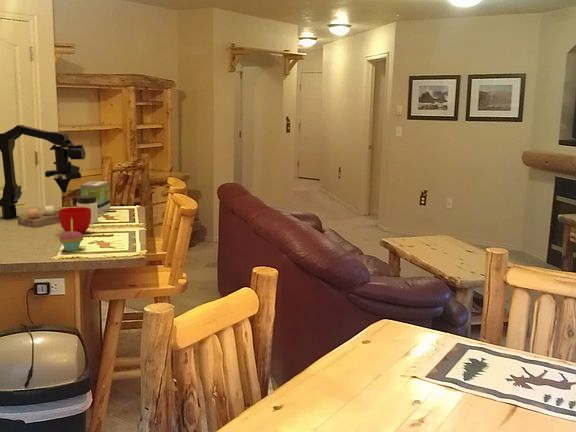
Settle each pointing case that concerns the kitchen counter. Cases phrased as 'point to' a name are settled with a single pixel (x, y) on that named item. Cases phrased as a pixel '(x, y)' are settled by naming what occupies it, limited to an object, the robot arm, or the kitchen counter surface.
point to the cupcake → (71, 239)
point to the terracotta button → (33, 213)
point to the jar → (89, 206)
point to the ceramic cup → (75, 218)
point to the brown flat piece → (39, 220)
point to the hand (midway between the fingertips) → (64, 192)
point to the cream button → (49, 210)
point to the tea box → (98, 194)
